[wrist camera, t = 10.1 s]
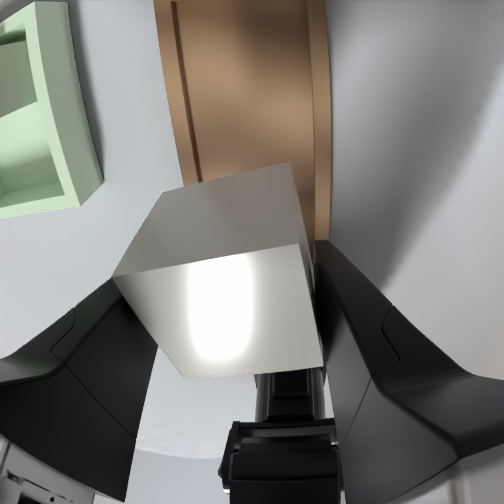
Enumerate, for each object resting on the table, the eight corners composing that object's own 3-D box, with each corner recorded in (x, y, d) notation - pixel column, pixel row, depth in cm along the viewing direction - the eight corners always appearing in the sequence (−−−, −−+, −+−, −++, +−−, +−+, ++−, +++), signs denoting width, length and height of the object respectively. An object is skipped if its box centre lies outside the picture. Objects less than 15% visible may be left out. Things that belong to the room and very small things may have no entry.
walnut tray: (322, 294, 22) (324, 304, 21) (214, 297, 23) (212, 307, 22) (318, -25, 10) (321, -29, 9) (159, -7, 11) (152, -10, 10)
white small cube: (312, 268, 11) (323, 366, 8) (205, 286, 12) (183, 378, 9) (290, 162, 9) (298, 243, 6) (162, 192, 10) (110, 277, 6)
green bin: (104, 182, 18) (80, 206, 15) (8, 200, 19) (-16, 222, 16) (67, 2, 11) (34, 1, 8) (-30, 61, 12) (-60, 72, 9)
